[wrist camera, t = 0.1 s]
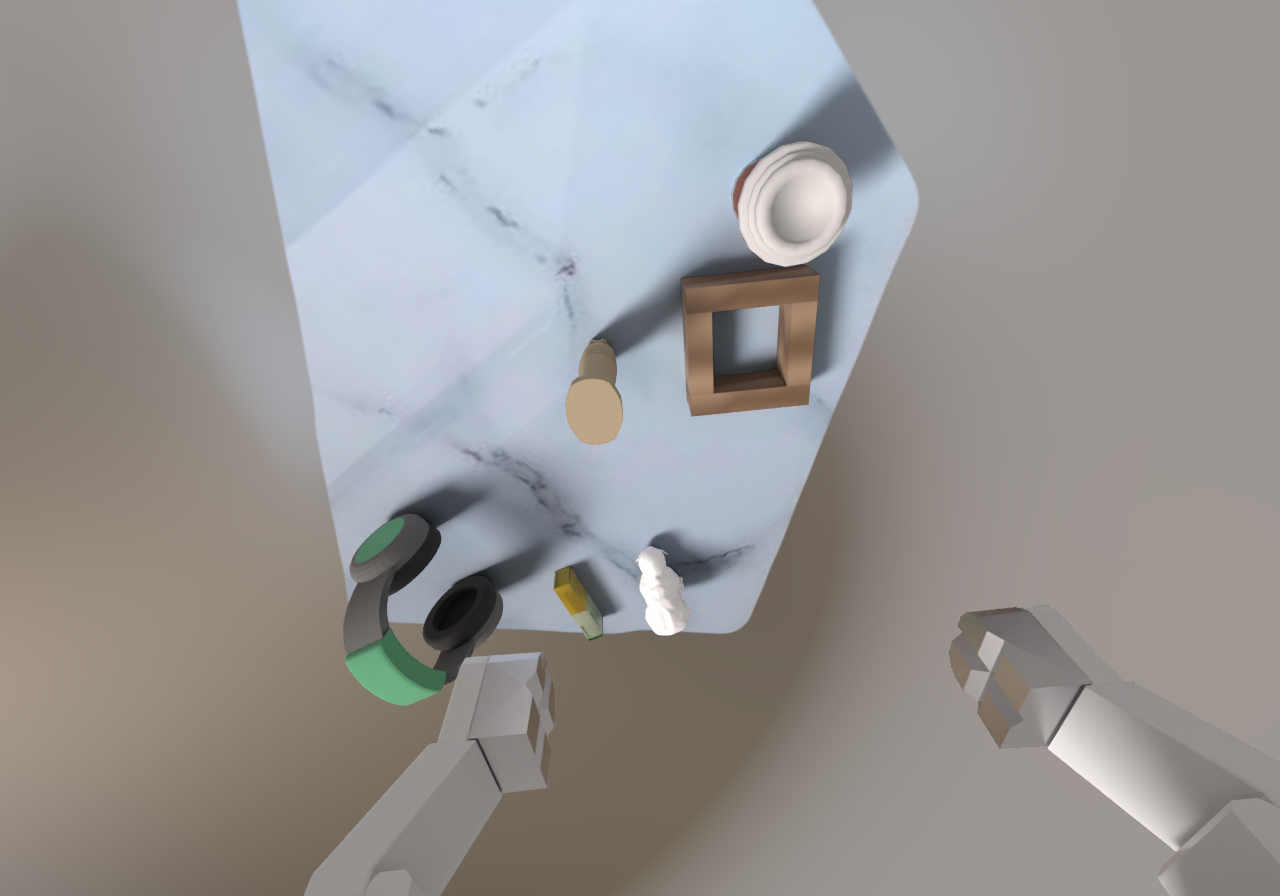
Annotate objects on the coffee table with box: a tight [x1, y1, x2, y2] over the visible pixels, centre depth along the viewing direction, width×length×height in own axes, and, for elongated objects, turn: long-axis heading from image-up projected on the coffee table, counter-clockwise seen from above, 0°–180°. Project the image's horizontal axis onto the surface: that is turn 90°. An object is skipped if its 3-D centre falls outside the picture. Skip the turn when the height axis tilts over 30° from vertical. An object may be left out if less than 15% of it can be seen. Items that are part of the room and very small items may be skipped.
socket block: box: [681, 265, 820, 416], centre depth 55 cm, size 14×13×4 cm
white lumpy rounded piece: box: [635, 546, 690, 635], centre depth 71 cm, size 6×8×12 cm
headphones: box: [343, 514, 503, 705], centre depth 64 cm, size 19×11×20 cm, turn 29°
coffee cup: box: [731, 141, 853, 267], centre depth 44 cm, size 9×9×12 cm
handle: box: [565, 339, 623, 445], centre depth 51 cm, size 5×6×15 cm
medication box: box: [554, 566, 603, 640], centre depth 75 cm, size 12×3×4 cm, turn 22°
